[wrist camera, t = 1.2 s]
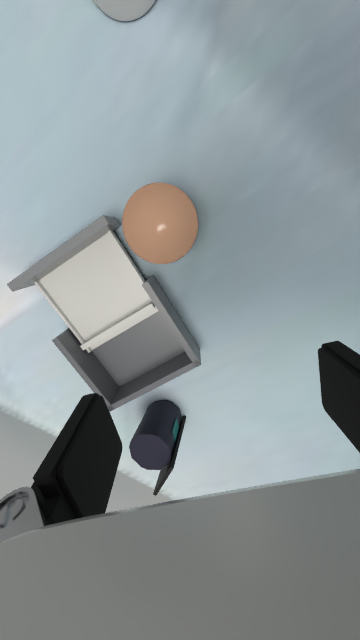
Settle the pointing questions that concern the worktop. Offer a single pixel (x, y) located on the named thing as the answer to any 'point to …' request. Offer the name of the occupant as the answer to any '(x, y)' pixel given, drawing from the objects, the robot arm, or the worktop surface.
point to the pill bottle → (124, 8)
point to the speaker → (158, 439)
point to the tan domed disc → (160, 223)
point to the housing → (135, 353)
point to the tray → (91, 284)
